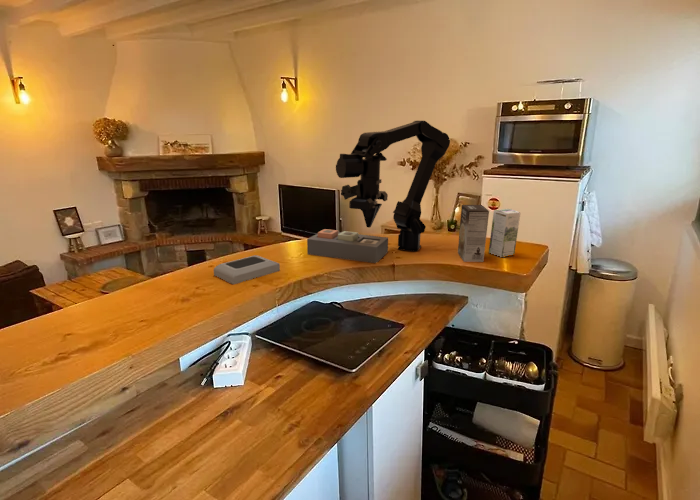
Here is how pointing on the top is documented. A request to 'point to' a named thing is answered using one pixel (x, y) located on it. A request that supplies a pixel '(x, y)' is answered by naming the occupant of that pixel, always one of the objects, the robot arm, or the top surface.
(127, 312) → the top surface
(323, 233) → the terracotta key
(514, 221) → the syrup box
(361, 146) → the robot arm
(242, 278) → the grey flat block
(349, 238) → the sage key
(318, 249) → the gray keypad housing
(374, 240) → the cream key
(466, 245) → the coffee box
